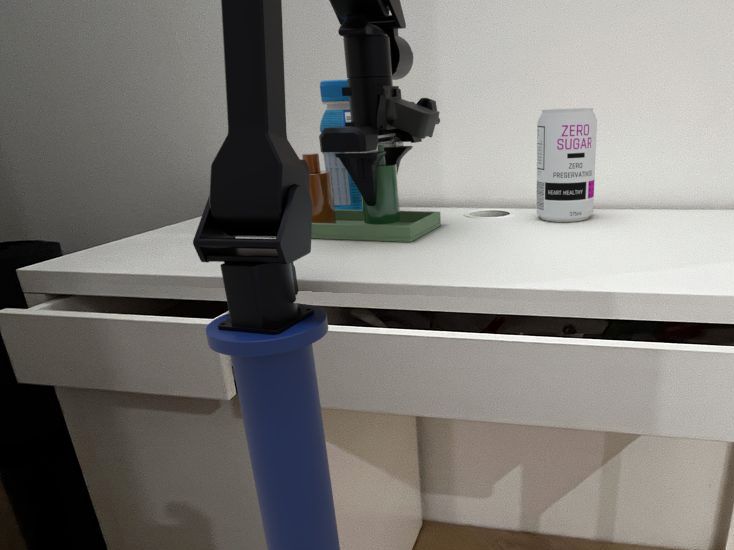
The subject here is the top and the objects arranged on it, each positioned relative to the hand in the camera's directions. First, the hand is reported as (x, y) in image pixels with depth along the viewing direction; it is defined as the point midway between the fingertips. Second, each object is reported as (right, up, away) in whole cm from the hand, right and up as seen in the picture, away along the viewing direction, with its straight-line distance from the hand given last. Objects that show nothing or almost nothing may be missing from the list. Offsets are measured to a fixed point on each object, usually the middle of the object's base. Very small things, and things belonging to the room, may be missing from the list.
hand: (380, 202), depth 85 cm
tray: (-8, -3, +4) cm, 10 cm away
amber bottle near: (-9, -2, +4) cm, 11 cm away
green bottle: (0, -2, +1) cm, 3 cm away
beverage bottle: (-6, +2, +16) cm, 18 cm away
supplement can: (+26, -1, +7) cm, 27 cm away
